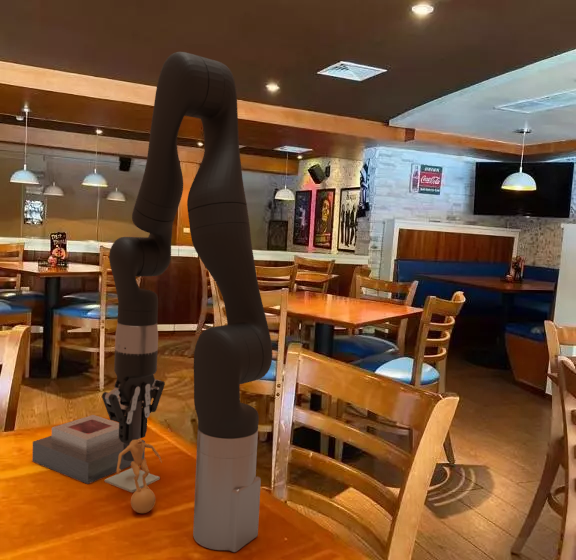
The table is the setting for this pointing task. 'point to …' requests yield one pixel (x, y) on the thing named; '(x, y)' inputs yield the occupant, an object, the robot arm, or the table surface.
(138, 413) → the dark grey cylinder
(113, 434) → the box
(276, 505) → the table surface
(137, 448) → the figurine
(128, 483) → the pad
